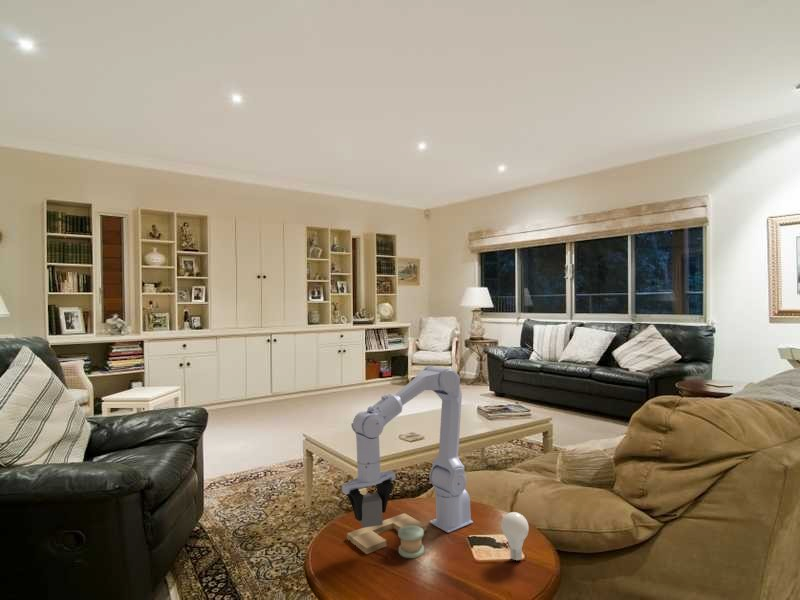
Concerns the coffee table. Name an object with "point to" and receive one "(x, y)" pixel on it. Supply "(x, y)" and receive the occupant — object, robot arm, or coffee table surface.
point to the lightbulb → (515, 533)
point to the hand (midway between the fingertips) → (370, 515)
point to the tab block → (371, 510)
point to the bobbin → (411, 541)
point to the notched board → (369, 536)
